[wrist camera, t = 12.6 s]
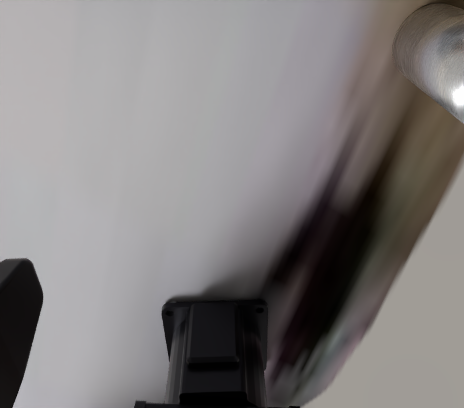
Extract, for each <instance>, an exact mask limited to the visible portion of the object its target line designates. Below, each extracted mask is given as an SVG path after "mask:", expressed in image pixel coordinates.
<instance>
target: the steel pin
mask: <svg viewBox="0 0 464 408" xmlns="http://www.w3.org/2000/svg"><path fill="white" fill-rule="evenodd" d="M392 56H393V61H394V64H395V66H396V68H397V69H398V71H399V72H400V73H401V74H402V75H403V76H405V77H406V78H407V79H408V80H410V81H411V82H412V83H413V84H415V85H416V86H417V87H418V88H420V89H421V90H422V91H423V92H425V93H426V94H427V95H428V96H430V97H431V98H432V99H433V100H435V101H436V102H437V103H438V104H440V105H441V106H442V107H443V108H445V109H446V110H447V111H448V112H450V113H451V114H452V115H453V116H455V117H456V118H457V119H458V120H460V121H461V122H462V123H463V124H464V9H461V8H458V7H455V6H452V5H449V4H444V3H436V4H430V5H427V6H424V7H422V8H420V9H418V10H416V11H415V12H413V13H412V14H411V15H410V16H409V17H408V18H407V19H406V20H405V21H404V22H403V23H402V25H401V26H400V28H399V29H398V31H397V33H396V35H395V38H394V42H393V47H392Z"/></svg>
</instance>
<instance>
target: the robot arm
mask: <svg viewBox="0 0 464 408" xmlns="http://www.w3.org/2000/svg"><path fill="white" fill-rule="evenodd" d="M42 304H43V291H42V288H41V285H40V282H39V279H38V277H37V274H36V271H35V268H34V266H33V263H32V262H31V261H30V260H29V259H27V258H17V259H6V260H3V261H2V262H0V408H12V407H13V405H14V402H15V399H16V397H17V394H18V391H19V389H20V386H21V383H22V380H23V377H24V373H25V370H26V366H27V362H28V358H29V355H30V351H31V347H32V343H33V339H34V335H35V331H36V327H37V324H38V320H39V316H40V312H41V308H42ZM259 307H261V308H259ZM169 310H170V311H169ZM162 320H163V326H164V332H165V338H166V344H167V350H168V356H169V362H170V363H169V371H168V379H167V388H166V396H165V403H146V401H136V402H135V406H134V408H280V407H267V400H266V389H265V379H264V370H265V369H266V363H267V326H268V307H267V303H266V302H265V301H263V300H236V301H206V302H175V303H166V304H164V305H163V307H162ZM289 408H300V406H289Z"/></svg>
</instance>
